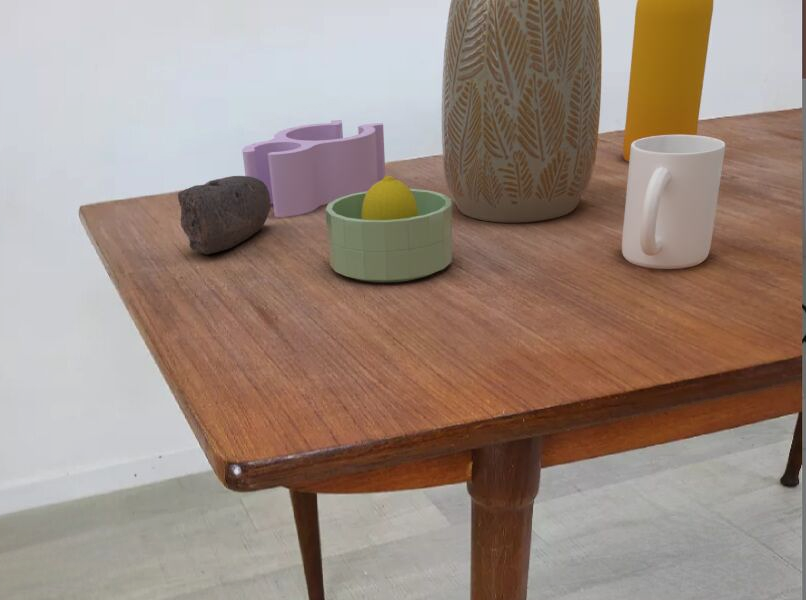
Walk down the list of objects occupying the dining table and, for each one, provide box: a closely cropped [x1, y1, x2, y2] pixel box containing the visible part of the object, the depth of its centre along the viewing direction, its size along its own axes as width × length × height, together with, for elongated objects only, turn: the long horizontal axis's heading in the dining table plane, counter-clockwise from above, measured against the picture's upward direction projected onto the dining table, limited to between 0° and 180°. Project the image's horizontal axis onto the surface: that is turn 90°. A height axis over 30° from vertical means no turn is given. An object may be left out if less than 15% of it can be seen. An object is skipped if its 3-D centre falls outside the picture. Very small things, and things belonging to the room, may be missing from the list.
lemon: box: [361, 175, 418, 220], centre depth 91 cm, size 6×6×8 cm
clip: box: [241, 119, 386, 218], centre depth 117 cm, size 20×12×7 cm, turn 145°
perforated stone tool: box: [177, 175, 272, 255], centre depth 101 cm, size 15×5×7 cm, turn 151°
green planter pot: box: [325, 188, 453, 283], centre depth 92 cm, size 12×12×6 cm
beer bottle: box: [622, 0, 714, 163], centre depth 117 cm, size 9×9×29 cm
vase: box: [441, 0, 603, 224], centre depth 101 cm, size 17×17×27 cm
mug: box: [621, 134, 726, 270], centre depth 87 cm, size 12×8×10 cm
